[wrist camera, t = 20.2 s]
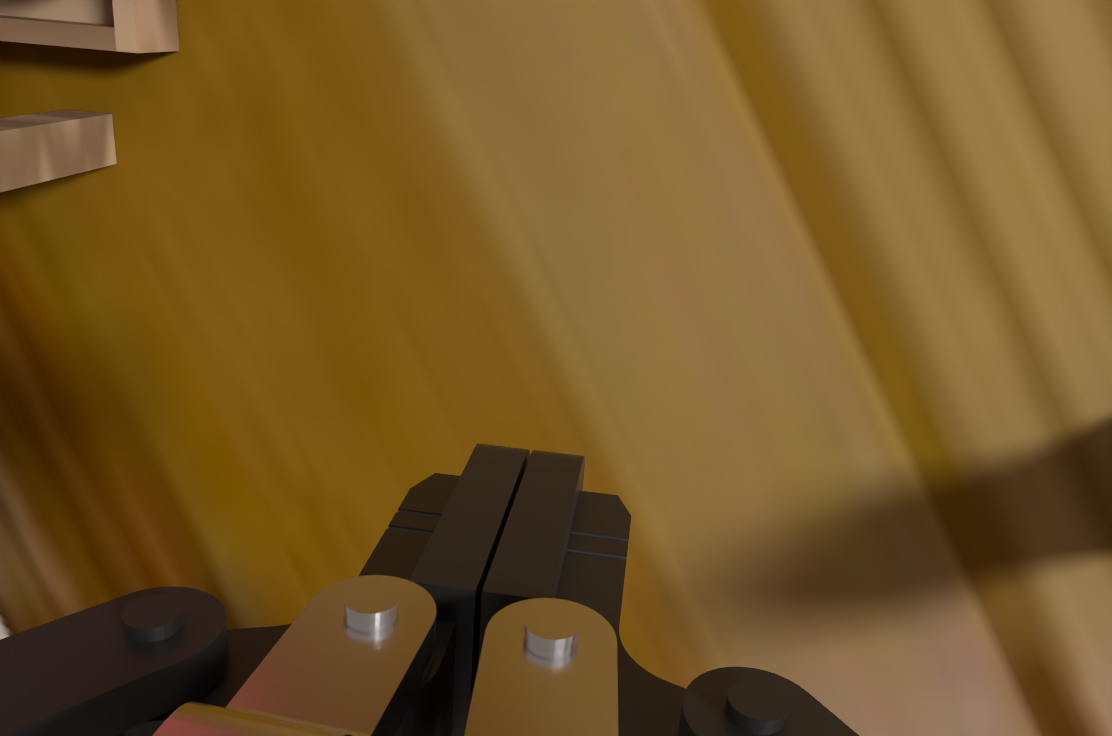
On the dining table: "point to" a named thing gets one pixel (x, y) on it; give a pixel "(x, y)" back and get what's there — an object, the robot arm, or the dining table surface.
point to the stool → (53, 146)
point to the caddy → (92, 24)
